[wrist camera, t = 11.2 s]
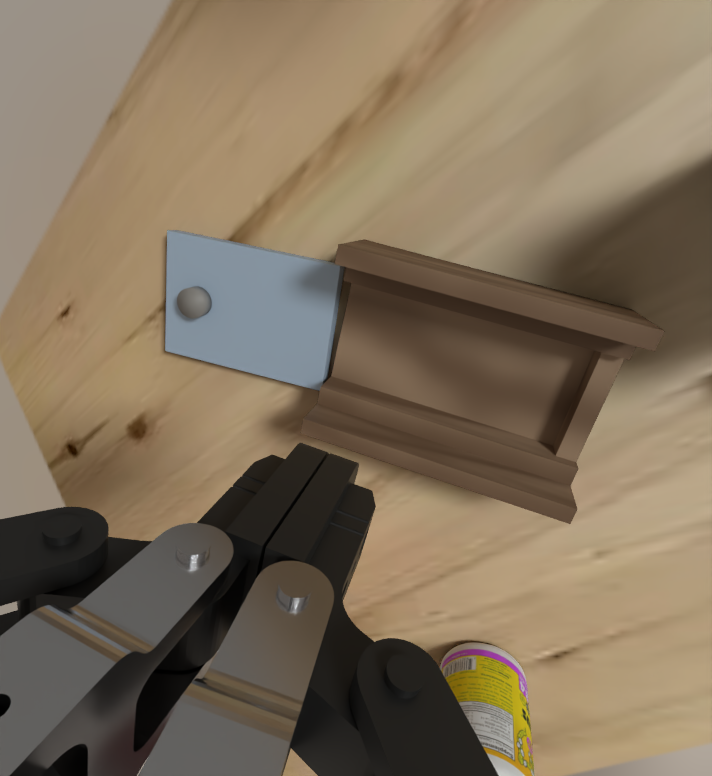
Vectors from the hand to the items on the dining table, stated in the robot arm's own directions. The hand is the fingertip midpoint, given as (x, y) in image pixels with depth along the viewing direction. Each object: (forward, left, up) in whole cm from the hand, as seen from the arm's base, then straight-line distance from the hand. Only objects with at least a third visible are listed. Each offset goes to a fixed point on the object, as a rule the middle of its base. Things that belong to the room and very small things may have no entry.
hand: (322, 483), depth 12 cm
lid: (+3, -12, -21) cm, 24 cm away
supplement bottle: (+26, +12, -21) cm, 35 cm away
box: (+2, +3, -21) cm, 21 cm away
